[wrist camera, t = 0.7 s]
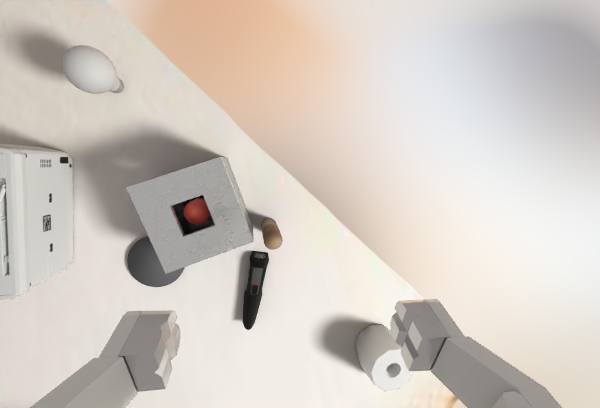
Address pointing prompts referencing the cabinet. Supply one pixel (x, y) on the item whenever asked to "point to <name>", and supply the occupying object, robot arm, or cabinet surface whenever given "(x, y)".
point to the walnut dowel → (271, 234)
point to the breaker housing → (173, 225)
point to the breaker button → (197, 211)
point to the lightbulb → (90, 70)
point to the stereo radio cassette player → (34, 216)
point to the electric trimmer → (254, 287)
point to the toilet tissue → (382, 358)
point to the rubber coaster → (149, 265)
